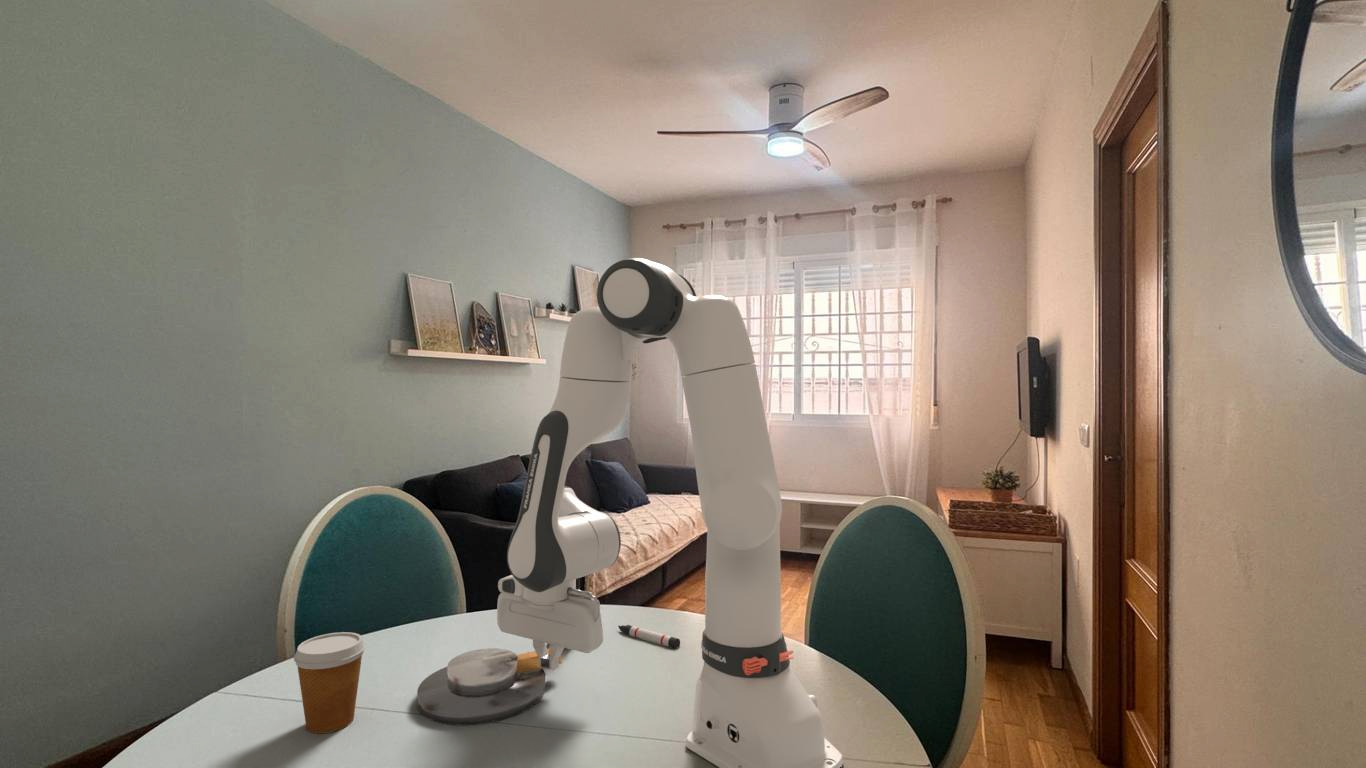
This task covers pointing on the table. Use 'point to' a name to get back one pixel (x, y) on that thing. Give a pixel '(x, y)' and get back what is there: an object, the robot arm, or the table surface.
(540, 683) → the plate
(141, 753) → the table surface
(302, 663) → the disposable coffee cup
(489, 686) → the dial
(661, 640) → the marker
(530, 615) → the robot arm
